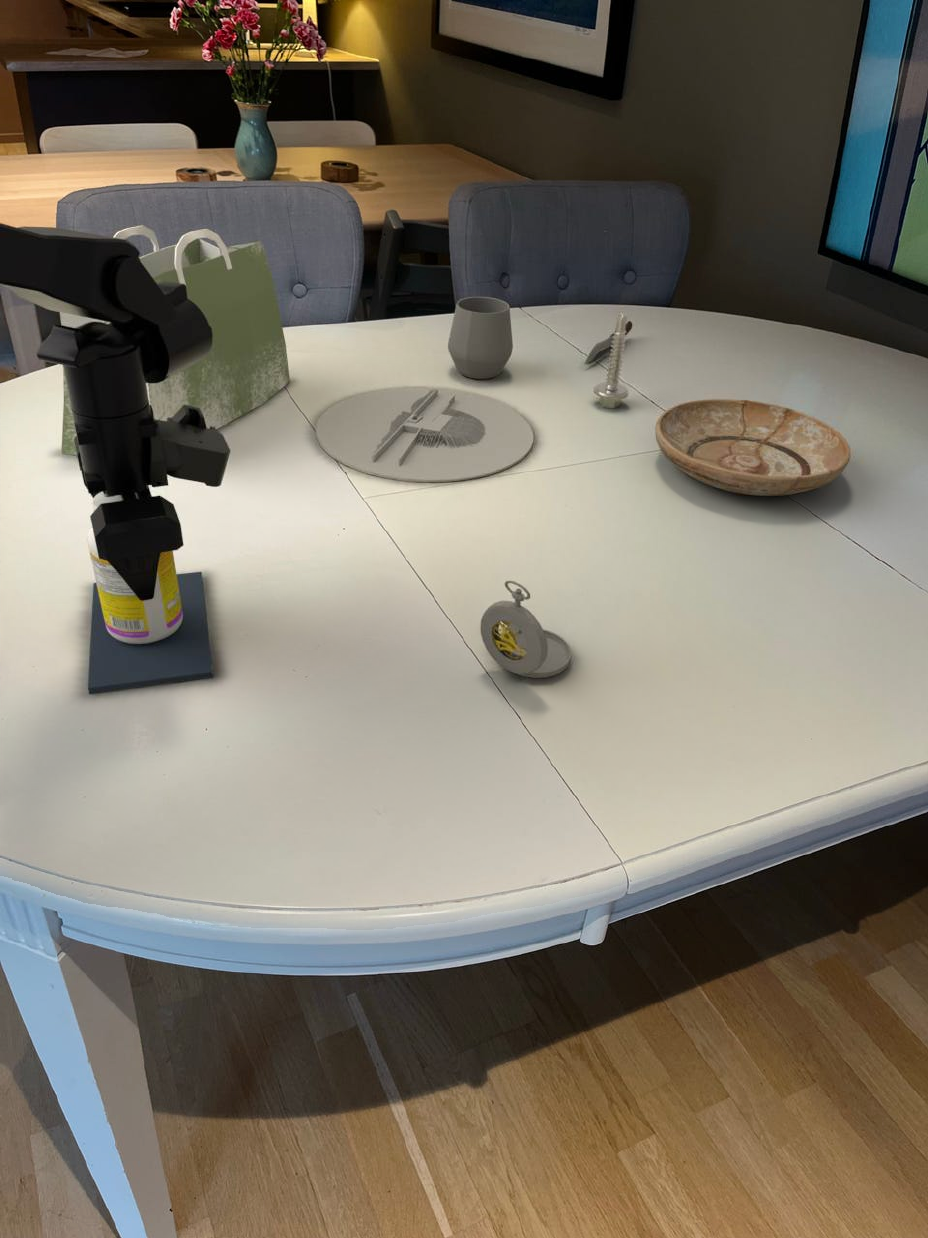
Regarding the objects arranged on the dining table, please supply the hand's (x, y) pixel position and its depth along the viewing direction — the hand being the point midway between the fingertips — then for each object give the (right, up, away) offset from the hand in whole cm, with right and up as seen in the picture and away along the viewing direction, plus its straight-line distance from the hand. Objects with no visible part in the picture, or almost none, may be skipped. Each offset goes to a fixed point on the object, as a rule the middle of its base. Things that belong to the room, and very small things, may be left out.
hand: (140, 573), depth 83 cm
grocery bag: (-8, +23, +42) cm, 48 cm away
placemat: (0, -5, +4) cm, 6 cm away
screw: (+48, +26, +51) cm, 75 cm away
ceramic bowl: (+63, +14, +36) cm, 74 cm away
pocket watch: (+33, -8, +2) cm, 34 cm away
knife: (+51, +38, +68) cm, 93 cm away
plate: (+23, +20, +41) cm, 51 cm away
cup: (+30, +32, +59) cm, 73 cm away
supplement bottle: (-1, -5, +3) cm, 6 cm away
